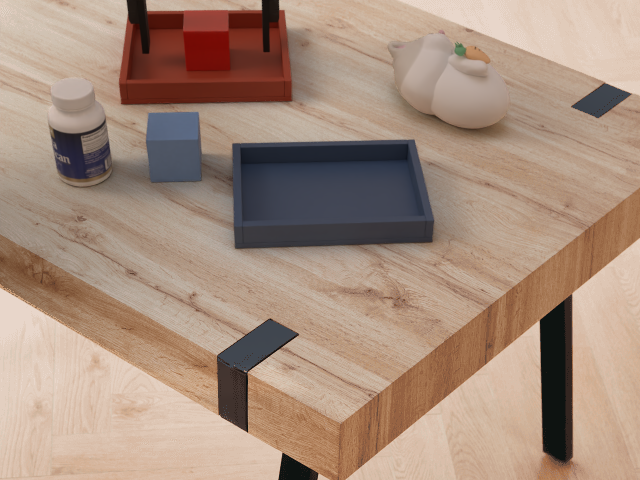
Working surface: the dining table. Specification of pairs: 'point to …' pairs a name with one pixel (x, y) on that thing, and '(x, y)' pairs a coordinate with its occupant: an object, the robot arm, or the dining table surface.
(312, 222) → the blue tray
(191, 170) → the blue cube
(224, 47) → the red cube
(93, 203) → the dining table surface
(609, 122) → the dining table surface
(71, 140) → the pill bottle
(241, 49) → the red tray
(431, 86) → the animal figurine with carrot
